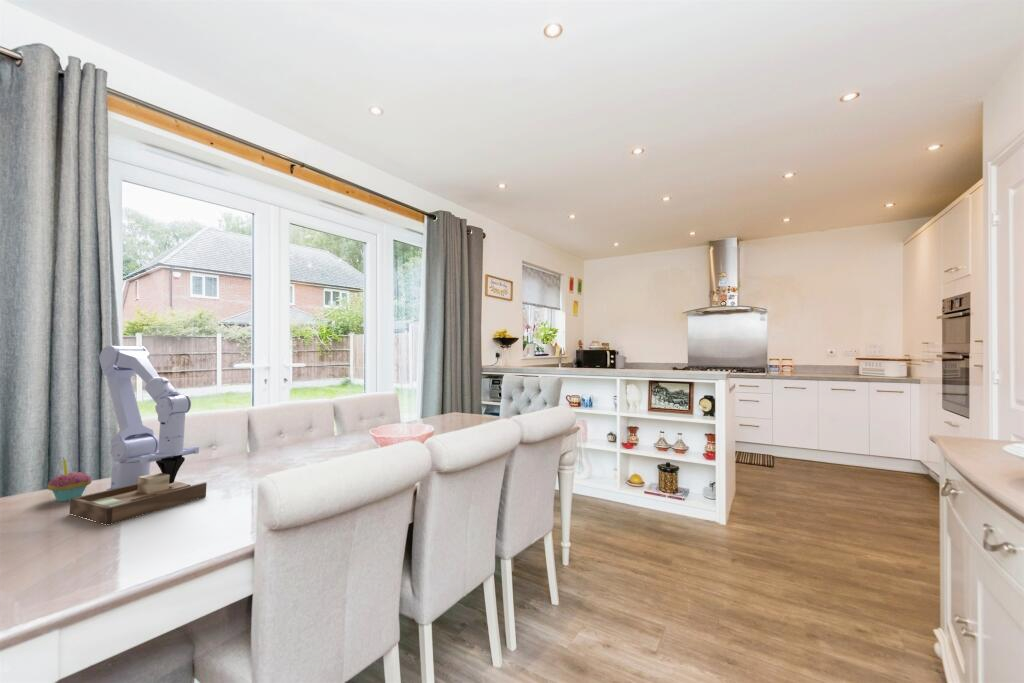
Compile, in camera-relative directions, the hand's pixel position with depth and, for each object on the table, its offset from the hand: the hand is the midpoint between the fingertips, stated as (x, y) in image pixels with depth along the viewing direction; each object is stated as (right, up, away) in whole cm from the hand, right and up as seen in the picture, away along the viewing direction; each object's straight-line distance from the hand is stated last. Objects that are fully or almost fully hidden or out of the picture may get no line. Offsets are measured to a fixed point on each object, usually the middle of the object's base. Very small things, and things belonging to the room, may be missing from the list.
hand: (169, 482), depth 123 cm
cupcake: (-24, -3, -6) cm, 24 cm away
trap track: (0, -3, -8) cm, 9 cm away
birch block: (-1, -1, -4) cm, 4 cm away
